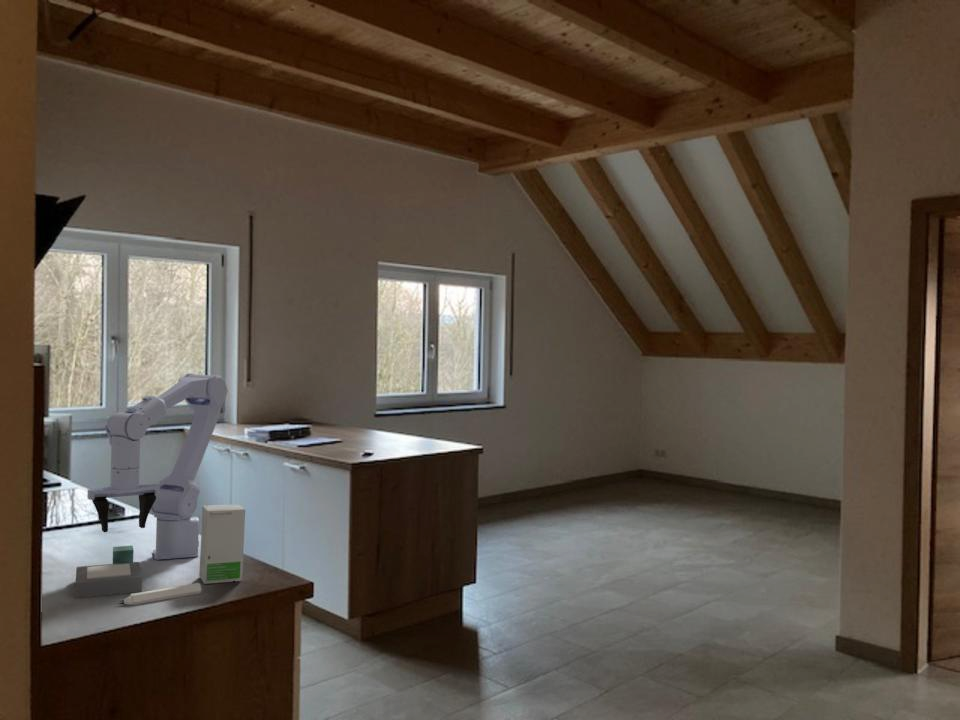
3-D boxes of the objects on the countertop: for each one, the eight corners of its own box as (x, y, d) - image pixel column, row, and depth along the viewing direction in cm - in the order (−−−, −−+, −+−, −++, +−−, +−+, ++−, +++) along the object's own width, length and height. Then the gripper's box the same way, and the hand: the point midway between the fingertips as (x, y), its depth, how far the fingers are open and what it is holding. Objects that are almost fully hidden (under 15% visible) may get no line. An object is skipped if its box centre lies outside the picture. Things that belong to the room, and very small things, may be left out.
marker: (115, 611, 153) (198, 596, 163) (118, 609, 151) (202, 593, 161) (113, 598, 154) (196, 583, 164) (116, 595, 152) (199, 580, 162)
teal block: (132, 567, 178) (132, 545, 178) (132, 572, 175) (133, 549, 174) (112, 569, 176) (112, 546, 176) (112, 574, 173) (113, 551, 173)
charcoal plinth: (138, 575, 172) (138, 560, 172) (141, 591, 161) (142, 575, 161) (76, 581, 167) (76, 565, 167) (75, 598, 156) (75, 581, 156)
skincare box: (203, 585, 167) (205, 511, 167) (198, 576, 173) (200, 505, 173) (244, 581, 171) (246, 508, 171) (238, 572, 177) (240, 502, 177)
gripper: (154, 462, 183) (152, 522, 183) (84, 467, 174) (83, 529, 174) (163, 467, 177) (161, 528, 177) (92, 471, 168) (90, 536, 168)
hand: (123, 529), depth 175 cm, fingers open, 7 cm apart
